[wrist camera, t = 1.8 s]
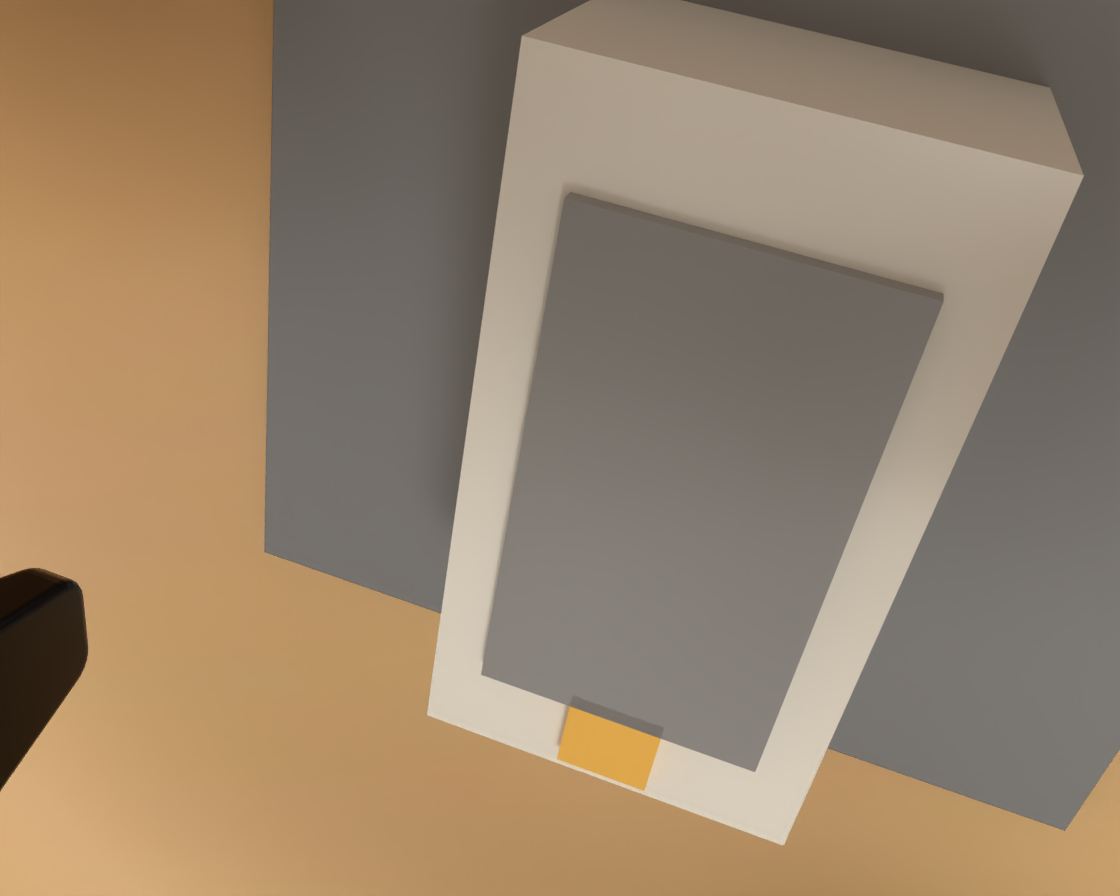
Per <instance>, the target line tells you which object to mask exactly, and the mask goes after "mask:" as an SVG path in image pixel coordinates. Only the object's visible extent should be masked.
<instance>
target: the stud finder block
mask: <svg viewBox="0 0 1120 896" xmlns="http://www.w3.org/2000/svg"><path fill="white" fill-rule="evenodd" d="M1083 177H1084V175H1083V172H1082V169H1081V167H1080V164H1079V162H1078V159H1077V156H1076V154H1075V151H1074V149H1073V146H1072V143H1071V141H1070V138H1069V136H1068V133H1067V130H1066V128H1065V125H1064V123H1063V120H1062V117H1061V115H1060V112H1059V110H1058V107H1057V104H1056V102H1055V99H1054V96H1053V94H1052V91H1051V89H1050V87H1045V86H1041V85H1037V84H1033V83H1028V82H1024V81H1020V80H1016V79H1012V78H1007V77H1003V76H999V75H995V74H991V73H986V72H982V71H978V70H974V69H969V68H965V67H961V66H957V65H953V64H948V63H944V62H940V61H936V60H931V59H927V58H923V57H919V56H915V55H910V54H906V53H902V52H898V51H894V50H889V49H885V48H881V47H877V46H872V45H868V44H864V43H860V42H856V41H851V40H847V39H843V38H839V37H834V36H830V35H826V34H822V33H818V32H813V31H809V30H805V29H801V28H796V27H792V26H788V25H784V24H780V23H775V22H771V21H767V20H763V19H759V18H754V17H750V16H746V15H742V14H737V13H733V12H729V11H725V10H721V9H716V8H712V7H708V6H704V5H699V4H695V3H691V2H687V1H683V0H589V1H588V2H586V3H584V4H582V5H580V6H578V7H576V8H574V9H572V10H570V11H568V12H566V13H564V14H563V15H561V16H559V17H557V18H555V19H553V20H551V21H549V22H547V23H545V24H543V25H541V26H540V27H538V28H536V29H534V30H532V31H530V32H528V33H526V34H524V35H522V38H521V45H520V52H519V59H518V66H517V74H516V81H515V88H514V95H513V102H512V109H511V116H510V124H509V131H508V138H507V145H506V152H505V159H504V167H503V174H502V181H501V188H500V195H499V202H498V210H497V217H496V224H495V231H494V238H493V245H492V253H491V260H490V267H489V274H488V281H487V288H486V295H485V303H484V310H483V317H482V324H481V331H480V338H479V346H478V353H477V360H476V367H475V374H474V381H473V389H472V396H471V403H470V410H469V417H468V424H467V431H466V439H465V446H464V453H463V460H462V467H461V474H460V482H459V489H458V496H457V503H456V510H455V517H454V525H453V532H452V539H451V546H450V553H449V560H448V567H447V575H446V582H445V589H444V596H443V603H442V610H441V618H440V625H439V632H438V639H437V646H436V653H435V661H434V668H433V675H432V682H431V689H430V696H429V703H428V711H427V716H430V717H433V718H436V719H438V720H441V721H444V722H447V723H449V724H452V725H455V726H457V727H460V728H463V729H466V730H468V731H471V732H474V733H477V734H479V735H482V736H485V737H487V738H490V739H493V740H496V741H498V742H501V743H504V744H507V745H509V746H512V747H515V748H518V749H520V750H523V751H526V752H528V753H531V754H534V755H537V756H539V757H542V758H545V759H548V760H550V761H553V762H556V763H559V764H561V765H564V766H567V767H569V768H572V769H575V770H578V771H580V772H583V773H586V774H589V775H591V776H594V777H597V778H600V779H602V780H605V781H608V782H610V783H613V784H616V785H619V786H621V787H624V788H627V789H630V790H632V791H635V792H638V793H640V794H643V795H646V796H649V797H651V798H654V799H657V800H660V801H662V802H665V803H668V804H671V805H673V806H676V807H679V808H681V809H684V810H687V811H690V812H692V813H695V814H698V815H701V816H703V817H706V818H709V819H712V820H714V821H717V822H720V823H722V824H725V825H728V826H731V827H733V828H736V829H739V830H742V831H744V832H747V833H750V834H753V835H755V836H758V837H761V838H763V839H766V840H769V841H772V842H774V843H777V844H780V845H783V846H784V844H785V842H786V839H787V837H788V835H789V833H790V830H791V828H792V826H793V824H794V821H795V819H796V817H797V815H798V813H799V810H800V808H801V806H802V804H803V801H804V799H805V797H806V795H807V792H808V790H809V788H810V786H811V784H812V781H813V779H814V777H815V775H816V772H817V770H818V768H819V766H820V763H821V761H822V759H823V757H824V755H825V752H826V750H827V748H828V746H829V743H830V741H831V739H832V737H833V734H834V732H835V730H836V728H837V726H838V723H839V721H840V719H841V717H842V714H843V712H844V710H845V708H846V705H847V703H848V701H849V699H850V697H851V694H852V692H853V690H854V688H855V685H856V683H857V681H858V679H859V676H860V674H861V672H862V670H863V668H864V665H865V663H866V661H867V659H868V656H869V654H870V652H871V650H872V647H873V645H874V643H875V641H876V639H877V636H878V634H879V632H880V630H881V627H882V625H883V623H884V621H885V618H886V616H887V614H888V612H889V609H890V607H891V605H892V603H893V601H894V598H895V596H896V594H897V592H898V589H899V587H900V585H901V583H902V580H903V578H904V576H905V574H906V572H907V569H908V567H909V565H910V563H911V560H912V558H913V556H914V554H915V551H916V549H917V547H918V545H919V543H920V540H921V538H922V536H923V534H924V531H925V529H926V527H927V525H928V522H929V520H930V518H931V516H932V514H933V511H934V509H935V507H936V505H937V502H938V500H939V498H940V496H941V493H942V491H943V489H944V487H945V485H946V482H947V480H948V478H949V476H950V473H951V471H952V469H953V467H954V464H955V462H956V460H957V458H958V456H959V453H960V451H961V449H962V447H963V444H964V442H965V440H966V438H967V435H968V433H969V431H970V429H971V427H972V424H973V422H974V420H975V418H976V415H977V413H978V411H979V409H980V406H981V404H982V402H983V400H984V398H985V395H986V393H987V391H988V389H989V386H990V384H991V382H992V380H993V377H994V375H995V373H996V371H997V369H998V366H999V364H1000V362H1001V360H1002V357H1003V355H1004V353H1005V351H1006V348H1007V346H1008V344H1009V342H1010V340H1011V337H1012V335H1013V333H1014V331H1015V328H1016V326H1017V324H1018V322H1019V319H1020V317H1021V315H1022V313H1023V311H1024V308H1025V306H1026V304H1027V302H1028V299H1029V297H1030V295H1031V293H1032V290H1033V288H1034V286H1035V284H1036V282H1037V279H1038V277H1039V275H1040V273H1041V270H1042V268H1043V266H1044V264H1045V261H1046V259H1047V257H1048V255H1049V253H1050V250H1051V248H1052V246H1053V244H1054V241H1055V239H1056V237H1057V235H1058V232H1059V230H1060V228H1061V226H1062V224H1063V221H1064V219H1065V217H1066V215H1067V212H1068V210H1069V208H1070V206H1071V203H1072V201H1073V199H1074V197H1075V195H1076V192H1077V190H1078V188H1079V186H1080V183H1081V181H1082V179H1083Z"/></svg>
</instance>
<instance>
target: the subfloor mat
mask: <svg viewBox="0 0 1120 896" xmlns="http://www.w3.org/2000/svg"><path fill="white" fill-rule="evenodd" d="M588 1H589V0H274V21H273V80H272V139H271V198H270V257H269V316H268V375H267V433H266V492H265V551H264V552H266V553H269V554H272V555H274V556H277V557H280V558H283V559H286V560H289V561H292V562H295V563H297V564H300V565H303V566H306V567H309V568H312V569H315V570H318V571H320V572H323V573H326V574H329V575H332V576H335V577H338V578H341V579H343V580H346V581H349V582H352V583H355V584H358V585H361V586H363V587H366V588H369V589H372V590H375V591H378V592H381V593H384V594H386V595H389V596H392V597H395V598H398V599H401V600H404V601H407V602H409V603H412V604H415V605H418V606H421V607H424V608H427V609H430V610H432V611H435V612H438V613H441V610H442V603H443V596H444V589H445V582H446V575H447V567H448V560H449V553H450V546H451V539H452V532H453V525H454V517H455V510H456V503H457V496H458V489H459V482H460V474H461V467H462V460H463V453H464V446H465V439H466V431H467V424H468V417H469V410H470V403H471V396H472V389H473V381H474V374H475V367H476V360H477V353H478V346H479V338H480V331H481V324H482V317H483V310H484V303H485V295H486V288H487V281H488V274H489V267H490V260H491V253H492V245H493V238H494V231H495V224H496V217H497V210H498V202H499V195H500V188H501V181H502V174H503V167H504V159H505V152H506V145H507V138H508V131H509V124H510V116H511V109H512V102H513V95H514V88H515V81H516V74H517V66H518V59H519V52H520V45H521V38H522V35H524V34H526V33H528V32H530V31H532V30H534V29H536V28H538V27H540V26H541V25H543V24H545V23H547V22H549V21H551V20H553V19H555V18H557V17H559V16H561V15H563V14H564V13H566V12H568V11H570V10H572V9H574V8H576V7H578V6H580V5H582V4H584V3H586V2H588ZM683 1H687V2H691V3H695V4H699V5H704V6H708V7H712V8H716V9H721V10H725V11H729V12H733V13H737V14H742V15H746V16H750V17H754V18H759V19H763V20H767V21H771V22H775V23H780V24H784V25H788V26H792V27H796V28H801V29H805V30H809V31H813V32H818V33H822V34H826V35H830V36H834V37H839V38H843V39H847V40H851V41H856V42H860V43H864V44H868V45H872V46H877V47H881V48H885V49H889V50H894V51H898V52H902V53H906V54H910V55H915V56H919V57H923V58H927V59H931V60H936V61H940V62H944V63H948V64H953V65H957V66H961V67H965V68H969V69H974V70H978V71H982V72H986V73H991V74H995V75H999V76H1003V77H1007V78H1012V79H1016V80H1020V81H1024V82H1028V83H1033V84H1037V85H1041V86H1045V87H1050V89H1051V91H1052V94H1053V96H1054V99H1055V102H1056V104H1057V107H1058V110H1059V112H1060V115H1061V117H1062V120H1063V123H1064V125H1065V128H1066V130H1067V133H1068V136H1069V138H1070V141H1071V143H1072V146H1073V149H1074V151H1075V154H1076V156H1077V159H1078V162H1079V164H1080V167H1081V169H1082V172H1083V175H1084V177H1083V179H1082V181H1081V183H1080V186H1079V188H1078V190H1077V192H1076V195H1075V197H1074V199H1073V201H1072V203H1071V206H1070V208H1069V210H1068V212H1067V215H1066V217H1065V219H1064V221H1063V224H1062V226H1061V228H1060V230H1059V232H1058V235H1057V237H1056V239H1055V241H1054V244H1053V246H1052V248H1051V250H1050V253H1049V255H1048V257H1047V259H1046V261H1045V264H1044V266H1043V268H1042V270H1041V273H1040V275H1039V277H1038V279H1037V282H1036V284H1035V286H1034V288H1033V290H1032V293H1031V295H1030V297H1029V299H1028V302H1027V304H1026V306H1025V308H1024V311H1023V313H1022V315H1021V317H1020V319H1019V322H1018V324H1017V326H1016V328H1015V331H1014V333H1013V335H1012V337H1011V340H1010V342H1009V344H1008V346H1007V348H1006V351H1005V353H1004V355H1003V357H1002V360H1001V362H1000V364H999V366H998V369H997V371H996V373H995V375H994V377H993V380H992V382H991V384H990V386H989V389H988V391H987V393H986V395H985V398H984V400H983V402H982V404H981V406H980V409H979V411H978V413H977V415H976V418H975V420H974V422H973V424H972V427H971V429H970V431H969V433H968V435H967V438H966V440H965V442H964V444H963V447H962V449H961V451H960V453H959V456H958V458H957V460H956V462H955V464H954V467H953V469H952V471H951V473H950V476H949V478H948V480H947V482H946V485H945V487H944V489H943V491H942V493H941V496H940V498H939V500H938V502H937V505H936V507H935V509H934V511H933V514H932V516H931V518H930V520H929V522H928V525H927V527H926V529H925V531H924V534H923V536H922V538H921V540H920V543H919V545H918V547H917V549H916V551H915V554H914V556H913V558H912V560H911V563H910V565H909V567H908V569H907V572H906V574H905V576H904V578H903V580H902V583H901V585H900V587H899V589H898V592H897V594H896V596H895V598H894V601H893V603H892V605H891V607H890V609H889V612H888V614H887V616H886V618H885V621H884V623H883V625H882V627H881V630H880V632H879V634H878V636H877V639H876V641H875V643H874V645H873V647H872V650H871V652H870V654H869V656H868V659H867V661H866V663H865V665H864V668H863V670H862V672H861V674H860V676H859V679H858V681H857V683H856V685H855V688H854V690H853V692H852V694H851V697H850V699H849V701H848V703H847V705H846V708H845V710H844V712H843V714H842V717H841V719H840V721H839V723H838V726H837V728H836V730H835V732H834V734H833V737H832V739H831V741H830V743H829V746H828V748H829V749H832V750H834V751H837V752H840V753H843V754H846V755H849V756H852V757H854V758H857V759H860V760H863V761H866V762H869V763H872V764H875V765H877V766H880V767H883V768H886V769H889V770H892V771H895V772H898V773H900V774H903V775H906V776H909V777H912V778H915V779H918V780H921V781H923V782H926V783H929V784H932V785H935V786H938V787H941V788H943V789H946V790H949V791H952V792H955V793H958V794H961V795H964V796H966V797H969V798H972V799H975V800H978V801H981V802H984V803H987V804H989V805H992V806H995V807H998V808H1001V809H1004V810H1007V811H1010V812H1012V813H1015V814H1018V815H1021V816H1024V817H1027V818H1030V819H1033V820H1035V821H1038V822H1041V823H1044V824H1047V825H1050V826H1053V827H1055V828H1058V829H1061V830H1064V831H1065V830H1066V828H1067V827H1068V825H1069V824H1070V822H1071V821H1072V819H1073V818H1074V816H1075V815H1076V813H1077V812H1078V810H1079V809H1080V807H1081V806H1082V804H1083V803H1084V801H1085V800H1086V799H1087V797H1088V796H1089V794H1090V793H1091V791H1092V790H1093V788H1094V787H1095V785H1096V784H1097V782H1098V781H1099V779H1100V778H1101V776H1102V775H1103V773H1104V772H1105V770H1106V769H1107V767H1108V766H1109V764H1110V763H1111V761H1112V760H1113V758H1114V757H1115V755H1116V754H1117V752H1118V751H1119V749H1120V0H683Z"/></svg>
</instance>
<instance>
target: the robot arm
mask: <svg viewBox="0 0 1120 896" xmlns="http://www.w3.org/2000/svg"><path fill="white" fill-rule="evenodd" d="M87 656H88V640H87V630H86V620H85V610H84V601H83V593H82V590H81V588H80V587H79V585H78V584H77V583H76V582H75V581H73V580H71V579H69V578H66V577H63V576H60V575H58V574H55V573H52V572H49V571H47V570H44V569H40V568H30V569H25V570H21V571H18V572H15V573H13V574H10V575H7V576H4V577H1V578H0V791H1V789H2V788H3V787H4V785H5V784H6V782H7V781H8V779H9V778H10V777H11V775H12V774H13V772H14V771H15V769H16V768H17V767H18V765H19V764H20V762H21V761H22V759H23V758H24V756H25V755H26V754H27V752H28V751H29V749H30V748H31V746H32V745H33V744H34V742H35V741H36V739H37V738H38V736H39V735H40V734H41V732H42V731H43V729H44V728H45V726H46V725H47V723H48V722H49V721H50V719H51V718H52V716H53V715H54V713H55V712H56V711H57V709H58V708H59V706H60V705H61V703H62V702H63V701H64V699H65V698H66V696H67V695H68V693H69V692H70V690H71V689H72V688H73V686H74V685H75V683H76V682H77V680H78V679H79V677H80V675H81V673H82V671H83V669H84V667H85V664H86V661H87Z"/></svg>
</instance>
